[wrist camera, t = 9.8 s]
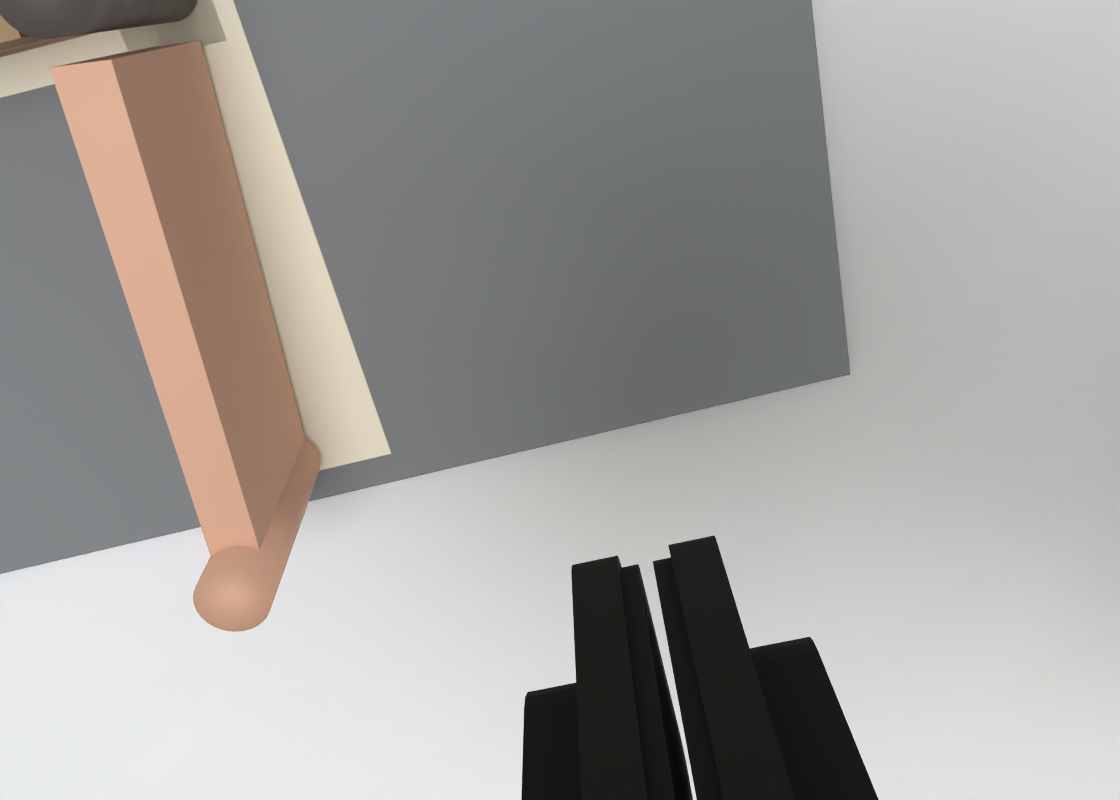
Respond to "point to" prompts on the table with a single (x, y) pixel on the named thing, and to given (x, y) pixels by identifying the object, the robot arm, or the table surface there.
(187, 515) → the mat
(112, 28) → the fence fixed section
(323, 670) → the table surface
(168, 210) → the fence swing section
